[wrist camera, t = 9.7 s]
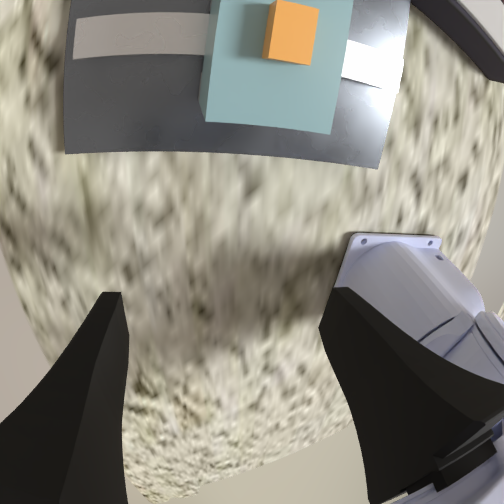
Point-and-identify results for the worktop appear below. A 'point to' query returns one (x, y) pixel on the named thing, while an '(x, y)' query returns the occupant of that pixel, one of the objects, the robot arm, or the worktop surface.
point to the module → (274, 62)
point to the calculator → (472, 29)
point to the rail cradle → (188, 81)
